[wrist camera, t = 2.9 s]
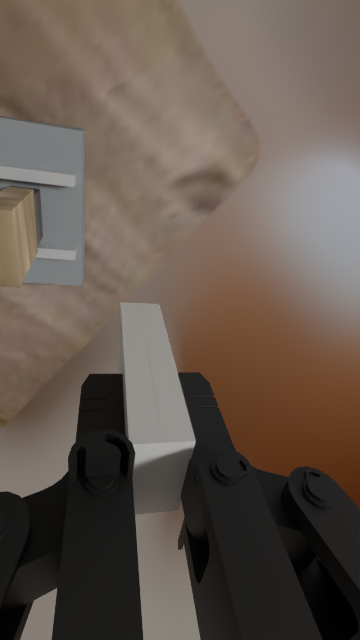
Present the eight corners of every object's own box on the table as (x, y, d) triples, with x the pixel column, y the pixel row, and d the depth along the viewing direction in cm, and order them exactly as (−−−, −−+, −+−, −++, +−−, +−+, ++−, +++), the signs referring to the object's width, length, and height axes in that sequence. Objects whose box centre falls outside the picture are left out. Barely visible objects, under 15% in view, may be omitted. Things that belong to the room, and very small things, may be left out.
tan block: (39, 183, 24) (11, 210, 17) (43, 241, 26) (19, 287, 19) (9, 179, 23) (-32, 206, 16) (16, 239, 26) (-19, 285, 19)
